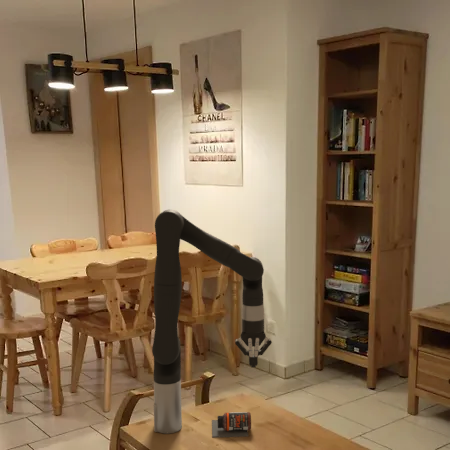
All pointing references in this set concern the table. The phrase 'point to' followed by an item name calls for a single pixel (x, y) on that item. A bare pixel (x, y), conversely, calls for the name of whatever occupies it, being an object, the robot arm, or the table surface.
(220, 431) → the mat
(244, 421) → the supplement bottle
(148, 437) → the table surface
